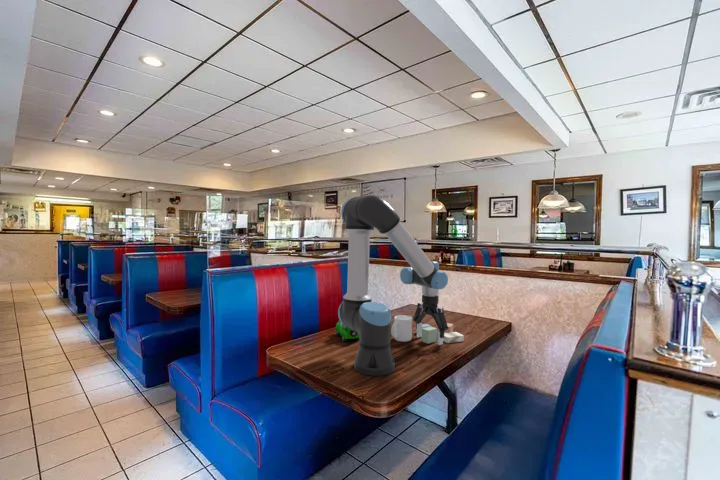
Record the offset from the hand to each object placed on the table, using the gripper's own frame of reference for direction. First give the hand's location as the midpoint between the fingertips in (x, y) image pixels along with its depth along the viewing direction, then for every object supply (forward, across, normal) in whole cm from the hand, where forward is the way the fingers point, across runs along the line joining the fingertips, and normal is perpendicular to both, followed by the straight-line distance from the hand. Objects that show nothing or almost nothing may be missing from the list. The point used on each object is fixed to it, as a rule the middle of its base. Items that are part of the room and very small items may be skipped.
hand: (429, 340), depth 160 cm
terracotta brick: (0, +4, -18) cm, 18 cm away
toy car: (0, +25, +29) cm, 38 cm away
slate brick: (0, +10, -7) cm, 12 cm away
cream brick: (+1, -5, -10) cm, 11 cm away
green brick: (0, 0, 0) cm, 0 cm away
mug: (0, +9, +10) cm, 14 cm away
